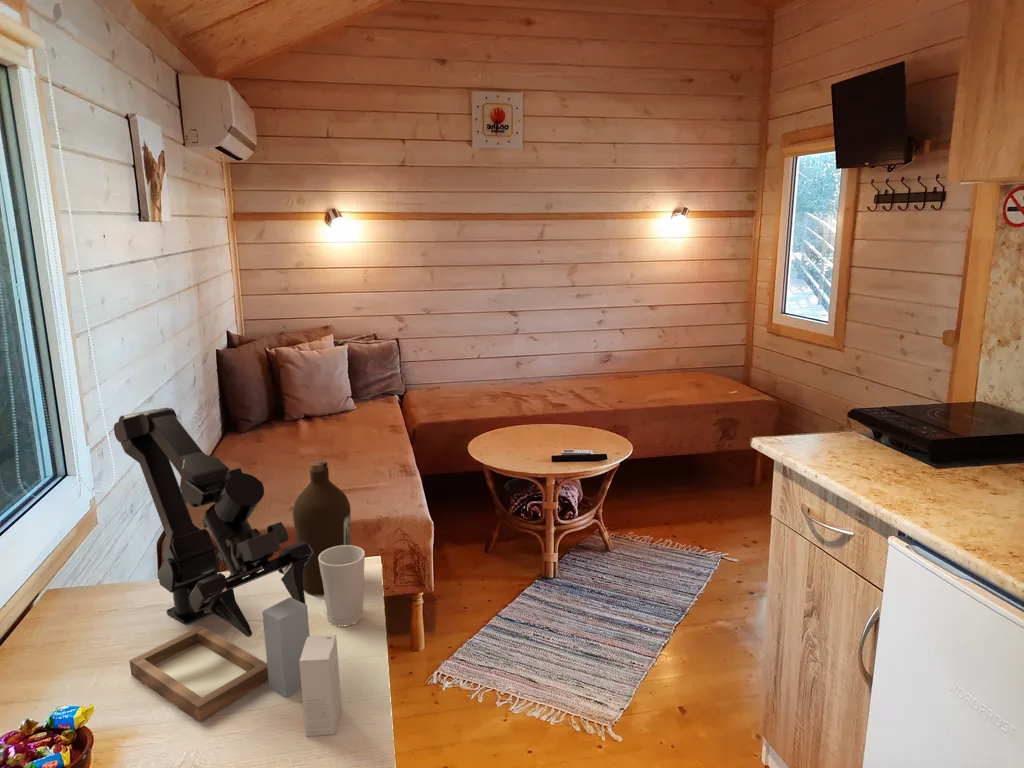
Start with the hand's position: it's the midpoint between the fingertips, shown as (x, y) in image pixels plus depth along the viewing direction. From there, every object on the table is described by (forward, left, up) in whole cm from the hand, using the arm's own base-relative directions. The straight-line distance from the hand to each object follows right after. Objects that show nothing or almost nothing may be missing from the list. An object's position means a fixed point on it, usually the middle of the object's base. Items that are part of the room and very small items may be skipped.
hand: (278, 622), depth 110 cm
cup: (-6, +18, -10) cm, 21 cm away
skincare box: (+13, -3, -10) cm, 17 cm away
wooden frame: (-11, -7, -10) cm, 16 cm away
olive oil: (-18, +24, -10) cm, 31 cm away
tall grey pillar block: (+2, 0, -10) cm, 10 cm away
